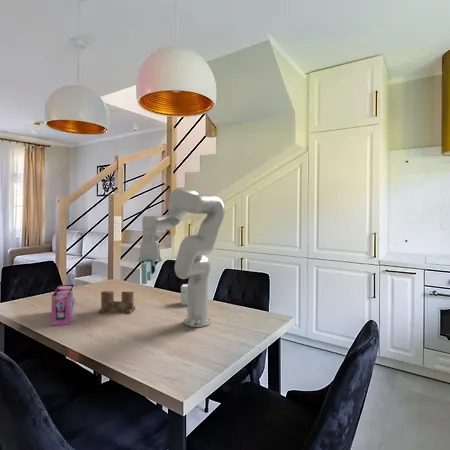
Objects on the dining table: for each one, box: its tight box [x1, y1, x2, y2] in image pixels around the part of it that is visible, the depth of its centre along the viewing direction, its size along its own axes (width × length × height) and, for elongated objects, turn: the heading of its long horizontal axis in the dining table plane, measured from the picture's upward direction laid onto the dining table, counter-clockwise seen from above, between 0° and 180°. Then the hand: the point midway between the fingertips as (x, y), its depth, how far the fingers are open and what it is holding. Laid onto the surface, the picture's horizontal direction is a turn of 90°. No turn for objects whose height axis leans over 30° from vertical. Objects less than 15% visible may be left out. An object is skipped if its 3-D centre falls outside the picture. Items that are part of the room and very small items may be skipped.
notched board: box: [140, 260, 158, 285], centre depth 172 cm, size 22×2×10 cm, turn 179°
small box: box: [180, 283, 188, 306], centre depth 181 cm, size 8×6×10 cm
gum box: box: [50, 283, 76, 326], centre depth 156 cm, size 24×8×14 cm, turn 20°
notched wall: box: [98, 290, 136, 315], centre depth 167 cm, size 16×8×10 cm, turn 89°
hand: (150, 273), depth 173 cm, fingers closed on notched board, 2 cm apart
